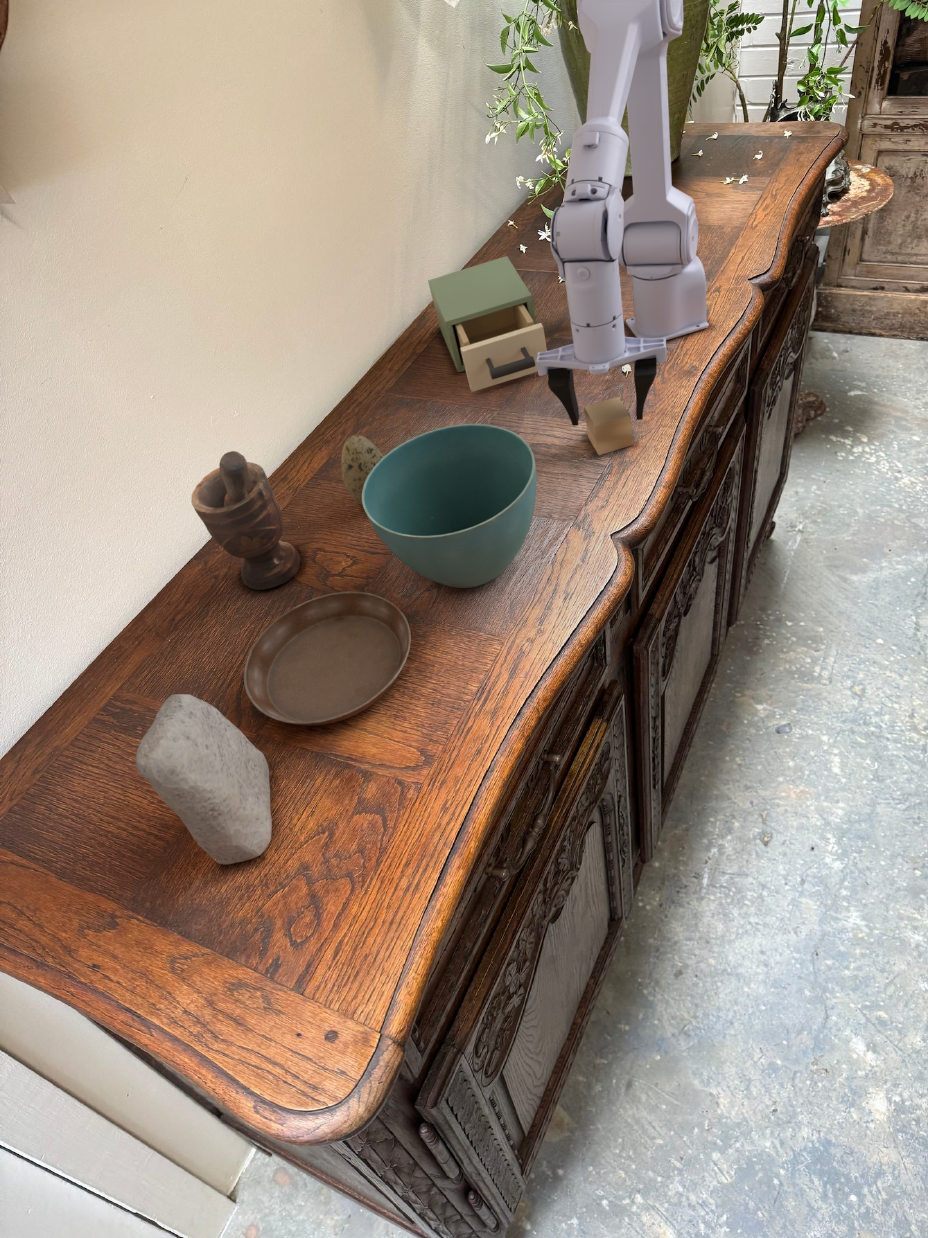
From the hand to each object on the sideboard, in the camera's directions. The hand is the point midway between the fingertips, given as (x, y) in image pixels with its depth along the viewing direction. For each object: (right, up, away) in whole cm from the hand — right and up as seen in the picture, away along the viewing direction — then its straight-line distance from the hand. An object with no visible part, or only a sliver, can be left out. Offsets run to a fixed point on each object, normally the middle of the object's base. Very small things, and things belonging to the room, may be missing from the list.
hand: (607, 417), depth 101 cm
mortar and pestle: (-39, -19, -1) cm, 44 cm away
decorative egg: (-28, -10, +4) cm, 30 cm away
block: (+1, -2, +2) cm, 3 cm away
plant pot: (-17, -18, -7) cm, 26 cm away
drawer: (-12, +12, +18) cm, 25 cm away
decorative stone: (-38, -42, -24) cm, 61 cm away
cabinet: (-14, +19, +26) cm, 35 cm away
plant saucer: (-31, -30, -14) cm, 45 cm away
